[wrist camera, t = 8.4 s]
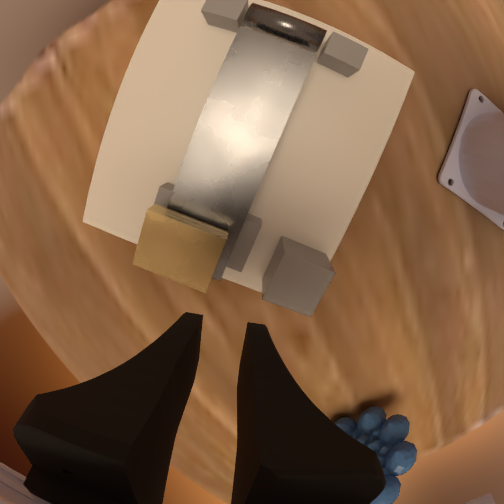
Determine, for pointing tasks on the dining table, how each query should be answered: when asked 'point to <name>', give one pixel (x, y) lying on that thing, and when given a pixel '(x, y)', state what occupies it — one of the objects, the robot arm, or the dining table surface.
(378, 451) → the grapes
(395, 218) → the dining table surface
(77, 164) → the dining table surface
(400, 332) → the dining table surface
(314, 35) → the strap
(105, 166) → the latch base plate
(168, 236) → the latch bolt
